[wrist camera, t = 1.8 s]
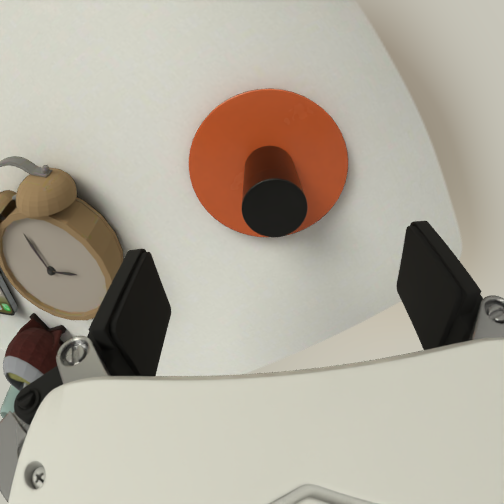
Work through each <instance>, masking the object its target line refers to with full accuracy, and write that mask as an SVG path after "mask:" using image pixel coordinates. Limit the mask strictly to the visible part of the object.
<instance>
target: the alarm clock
mask: <svg viewBox="0 0 504 504" xmlns="http://www.w3.org/2000/svg"><path fill="white" fill-rule="evenodd" d="M7 165H11V166H16V167H18V168H21V169H22V170H24V171H25V172H27V173H29V174H30V175H29V176H27V177H26V178H25V179H24V180H23V182H22V183H21V184H20V186H19V188H18V191H17V193H16V192H13V191H10V190H6V191H3V192H0V266H1V269H2V270H3V272H4V274H5V275H6V277H7V278H8V280H9V281H10V283H11V284H12V285H13V286H14V288H15V289H16V290H17V291H18V292H19V293H20V294H21V295H22V296H23V297H24V298H26V299H27V300H28V301H30V302H31V303H32V304H34V305H35V306H37V307H38V308H40V309H42V310H44V311H46V312H48V313H50V314H52V315H54V316H58V317H61V318H65V319H69V320H89V319H92V318H94V317H95V315H96V313H97V311H98V309H99V307H100V305H101V303H102V301H103V299H104V297H105V295H106V293H107V291H108V289H109V287H110V285H111V283H112V281H113V279H114V277H115V275H116V273H117V271H118V270H119V268H120V266H121V264H122V262H123V250H122V248H121V245H120V243H119V241H118V238H117V236H116V233H115V232H114V230H113V229H112V228H111V226H110V225H109V224H108V223H107V221H106V220H105V219H104V217H103V216H102V215H101V214H100V213H99V212H97V211H96V210H95V209H94V208H92V207H91V206H90V205H89V204H88V203H86V202H85V201H84V200H82V199H79V198H77V189H76V185H75V182H74V180H73V179H72V177H71V176H70V175H69V174H68V173H66V172H64V171H62V170H60V169H55V168H49V167H48V166H47V165H44V166H43V167H42V168H41V167H38V166H36V165H35V164H33V163H32V162H30V161H29V160H27V159H25V158H22V157H17V156H13V157H8V158H6V159H3V160H1V161H0V167H2V166H7Z"/></svg>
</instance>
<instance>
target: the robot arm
mask: <svg viewBox="0 0 504 504" xmlns="http://www.w3.org/2000/svg"><path fill="white" fill-rule="evenodd" d="M397 291H398V294H399V296H400V298H401V300H402V302H403V304H404V306H405V308H406V310H407V313H408V315H409V317H410V319H411V321H412V324H413V326H414V328H415V330H416V333H417V335H418V337H419V340H420V342H421V344H422V347H423V349H424V351H418V352H413V353H408V354H403V355H398V356H393V357H387V358H382V359H376V360H370V361H364V362H358V363H351V364H343V365H336V366H329V367H322V368H312V369H303V370H295V371H283V372H272V373H257V374H241V375H220V376H155V375H156V371H157V367H158V363H159V359H160V355H161V351H162V347H163V343H164V339H165V335H166V331H167V327H168V323H169V320H170V316H171V307H170V304H169V301H168V299H167V296H166V294H165V291H164V288H163V286H162V283H161V280H160V278H159V275H158V272H157V269H156V267H155V264H154V261H153V258H152V256H151V254H150V252H146V250H145V249H137V250H130V251H128V253H127V255H126V257H125V258H124V260H123V262H122V264H121V266H120V268H119V270H118V271H117V273H116V275H115V277H114V279H113V281H112V283H111V285H110V287H109V289H108V291H107V293H106V295H105V297H104V299H103V301H102V303H101V305H100V307H99V309H98V311H97V313H96V315H95V317H94V319H93V321H92V324H91V326H90V328H89V331H90V332H89V334H88V336H87V337H85V336H76V337H73V338H71V339H69V340H67V341H66V342H65V343H64V344H63V345H62V346H61V347H60V348H59V350H58V352H57V356H56V362H57V366H56V367H54V368H53V369H51V370H50V371H48V372H47V373H45V374H44V375H42V376H41V377H39V378H38V379H36V380H35V381H33V382H32V383H30V384H29V385H27V386H26V387H24V388H23V389H22V390H21V391H20V392H19V393H18V395H17V396H16V398H15V401H14V412H13V413H12V412H11V411H9V412H8V413H7V414H6V416H5V417H4V418H3V419H2V420H1V421H0V491H1V493H2V494H3V496H4V497H5V499H6V500H7V502H8V504H504V299H503V298H501V297H499V296H487V297H485V298H484V299H483V298H482V296H481V295H480V293H481V290H480V289H479V287H478V286H477V284H476V283H475V282H474V280H473V279H472V278H471V276H470V275H469V273H468V272H467V271H466V269H465V268H464V267H463V265H462V264H461V263H460V261H459V260H458V259H457V257H456V256H455V255H454V253H453V252H452V251H451V250H450V248H449V247H448V246H447V245H446V243H445V242H444V241H443V240H442V238H441V237H440V236H439V235H438V234H437V232H436V231H435V230H434V229H433V228H432V226H431V225H430V224H429V223H428V222H427V221H417V222H412V223H411V225H410V226H408V227H407V229H406V235H405V241H404V247H403V253H402V259H401V265H400V270H399V275H398V280H397Z"/></svg>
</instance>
